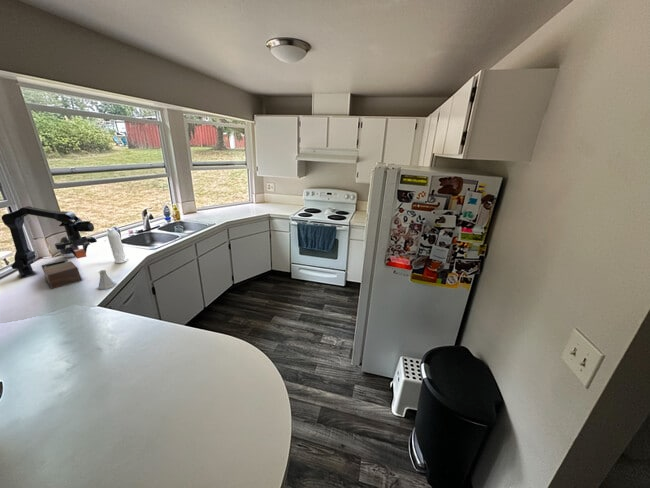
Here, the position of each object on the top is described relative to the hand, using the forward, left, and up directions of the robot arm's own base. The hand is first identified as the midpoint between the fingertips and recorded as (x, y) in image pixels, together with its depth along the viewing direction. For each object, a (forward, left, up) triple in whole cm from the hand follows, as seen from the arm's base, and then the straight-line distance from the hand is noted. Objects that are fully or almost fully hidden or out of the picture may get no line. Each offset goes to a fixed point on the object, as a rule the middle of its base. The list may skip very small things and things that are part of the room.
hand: (80, 255), depth 162 cm
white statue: (+3, +18, -11) cm, 21 cm away
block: (0, 0, -1) cm, 1 cm away
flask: (+37, +1, -11) cm, 39 cm away
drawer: (-2, -12, -9) cm, 15 cm away
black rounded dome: (-36, 0, -11) cm, 37 cm away
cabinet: (+9, -12, -10) cm, 18 cm away
